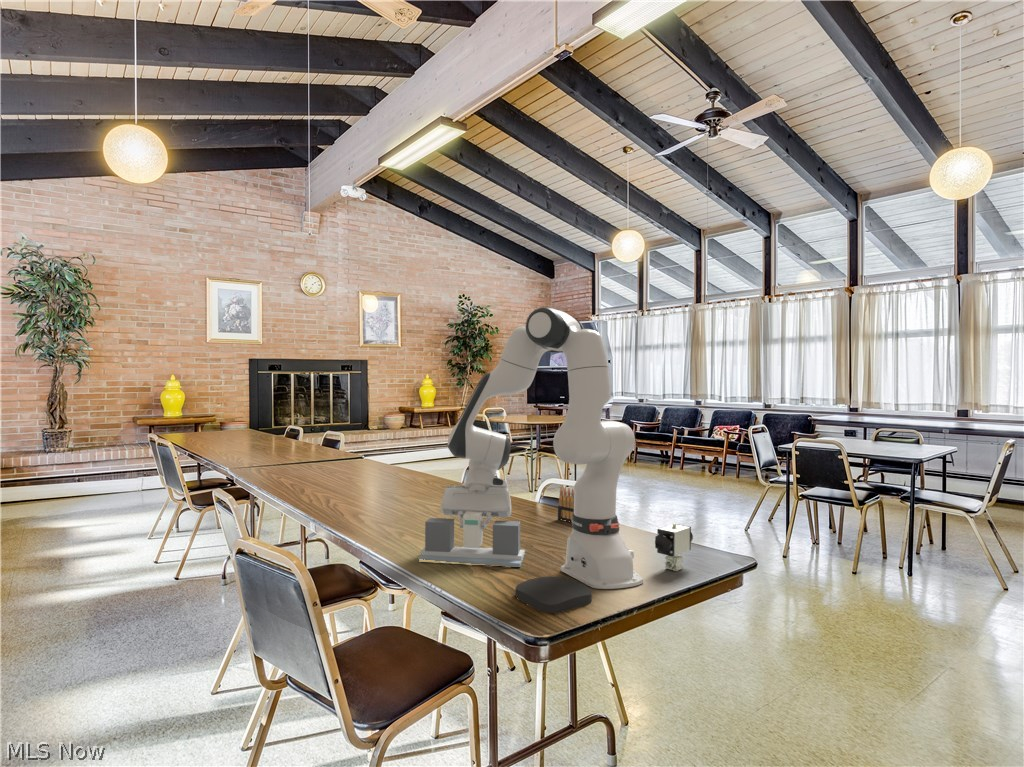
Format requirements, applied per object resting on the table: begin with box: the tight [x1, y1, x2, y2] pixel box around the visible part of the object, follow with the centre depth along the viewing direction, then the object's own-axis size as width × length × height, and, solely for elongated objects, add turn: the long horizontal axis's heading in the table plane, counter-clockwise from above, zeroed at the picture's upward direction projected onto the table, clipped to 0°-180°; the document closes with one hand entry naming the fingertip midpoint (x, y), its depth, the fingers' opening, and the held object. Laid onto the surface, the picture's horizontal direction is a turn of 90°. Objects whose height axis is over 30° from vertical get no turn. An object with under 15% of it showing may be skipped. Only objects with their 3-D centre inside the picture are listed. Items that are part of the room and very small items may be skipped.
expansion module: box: [462, 511, 484, 548], centre depth 155 cm, size 5×4×9 cm
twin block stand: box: [417, 517, 526, 568], centre depth 155 cm, size 12×28×10 cm, turn 82°
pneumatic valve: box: [654, 523, 694, 572], centre depth 148 cm, size 6×12×12 cm, turn 133°
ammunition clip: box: [557, 486, 574, 523], centre depth 197 cm, size 11×2×12 cm, turn 45°
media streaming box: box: [514, 576, 593, 614], centre depth 127 cm, size 15×15×3 cm
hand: (472, 527), depth 154 cm, fingers closed on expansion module, 4 cm apart
